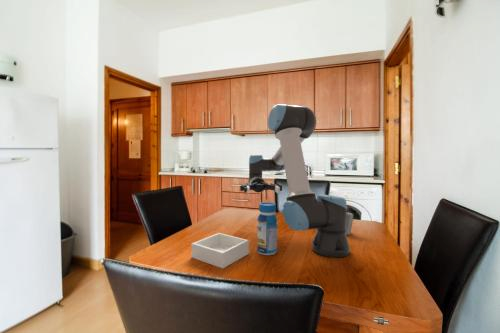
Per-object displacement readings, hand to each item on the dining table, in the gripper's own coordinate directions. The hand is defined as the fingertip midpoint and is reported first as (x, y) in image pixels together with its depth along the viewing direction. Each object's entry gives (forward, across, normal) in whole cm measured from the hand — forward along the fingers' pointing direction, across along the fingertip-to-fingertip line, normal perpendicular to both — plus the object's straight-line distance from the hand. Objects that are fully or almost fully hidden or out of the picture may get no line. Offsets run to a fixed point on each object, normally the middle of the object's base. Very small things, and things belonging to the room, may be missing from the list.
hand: (263, 190), depth 111 cm
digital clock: (-14, -41, -24) cm, 50 cm away
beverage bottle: (+10, 0, -24) cm, 26 cm away
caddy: (+12, +19, -24) cm, 33 cm away
